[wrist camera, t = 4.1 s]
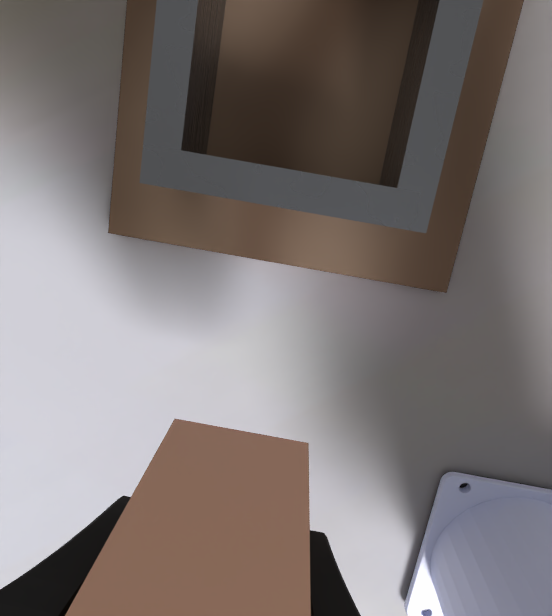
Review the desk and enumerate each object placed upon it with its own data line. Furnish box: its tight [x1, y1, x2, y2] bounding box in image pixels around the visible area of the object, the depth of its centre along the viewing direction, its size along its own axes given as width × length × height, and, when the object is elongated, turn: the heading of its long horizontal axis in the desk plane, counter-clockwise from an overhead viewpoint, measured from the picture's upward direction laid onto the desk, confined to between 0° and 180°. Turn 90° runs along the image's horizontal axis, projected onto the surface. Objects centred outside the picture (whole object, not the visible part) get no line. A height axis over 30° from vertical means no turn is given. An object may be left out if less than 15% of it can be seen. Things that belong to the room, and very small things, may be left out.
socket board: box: [108, 0, 524, 293], centre depth 16 cm, size 14×14×4 cm
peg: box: [65, 419, 311, 616], centre depth 11 cm, size 4×4×8 cm
